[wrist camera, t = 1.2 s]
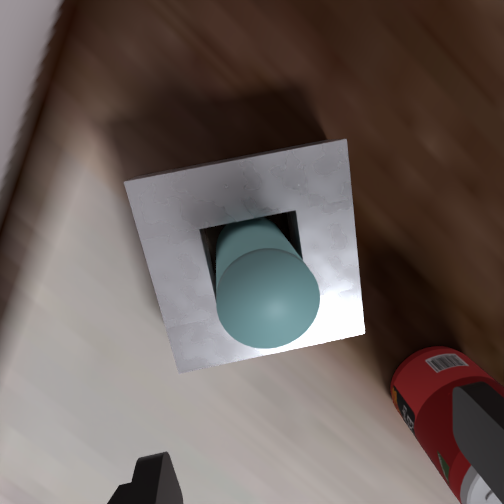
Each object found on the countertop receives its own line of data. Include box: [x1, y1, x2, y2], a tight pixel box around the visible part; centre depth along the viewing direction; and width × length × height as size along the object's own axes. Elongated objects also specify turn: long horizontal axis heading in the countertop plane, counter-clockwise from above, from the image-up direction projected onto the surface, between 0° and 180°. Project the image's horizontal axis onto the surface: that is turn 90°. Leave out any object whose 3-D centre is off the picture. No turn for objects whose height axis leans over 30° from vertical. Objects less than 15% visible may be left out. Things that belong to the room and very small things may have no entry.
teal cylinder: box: [216, 217, 320, 349], centre depth 23 cm, size 5×5×10 cm
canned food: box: [391, 346, 504, 504], centre depth 28 cm, size 8×8×11 cm
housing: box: [124, 139, 365, 374], centre depth 26 cm, size 14×14×4 cm
